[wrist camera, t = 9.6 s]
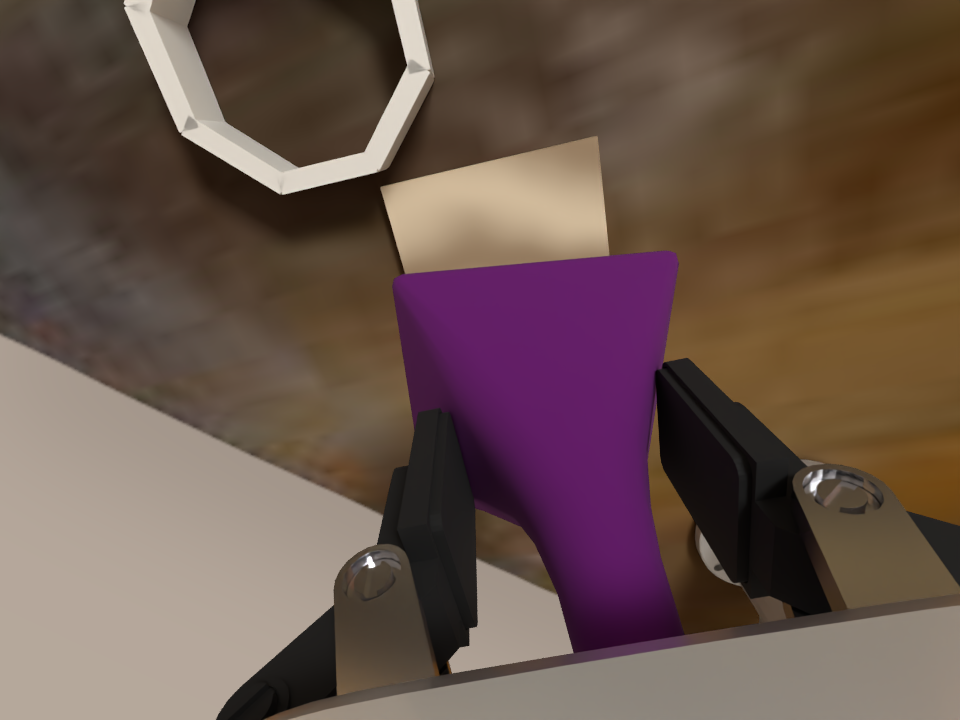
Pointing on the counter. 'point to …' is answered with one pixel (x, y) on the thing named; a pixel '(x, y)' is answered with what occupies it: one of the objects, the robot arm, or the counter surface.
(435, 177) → the coaster board
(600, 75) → the counter surface
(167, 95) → the holder ring
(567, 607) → the perfume bottle
